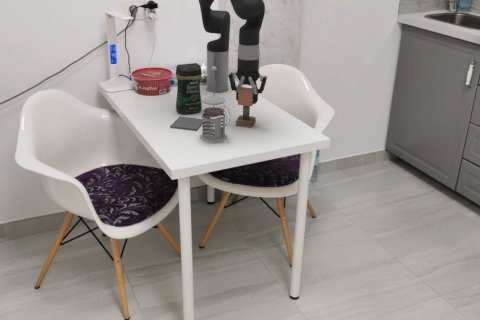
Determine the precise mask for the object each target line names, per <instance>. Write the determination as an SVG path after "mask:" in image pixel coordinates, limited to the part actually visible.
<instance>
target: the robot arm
mask: <svg viewBox="0 0 480 320" xmlns="http://www.w3.org/2000/svg"><path fill="white" fill-rule="evenodd" d="M229 1H230V4H231V7H232V10H233V11H234V13H235V15H236V17H238V18H239V19H241V20H244V21H245V20H246V21H245V23H244V24H243V25H241V27H240V28H239V31H238V34H239V35H238V47H237V68H236V69H237V71H236V72H230V73H229V66H230V65H229V62H230V61H229V59H230V58H229V57H230V56H229V55H230V54H229V53H230V36H231V35H230V33H231V15H230V12H229V11H226V10H217V9H216V10H213V9H212V8H211V7H212V5H213V3H214V2H215V0H198V3H199V6H200V8H199V9H200V14H201V20H202V26H203V29H204V31H205V32H206V33H209V34H218V35H220V37H219V38H217V39H212V40H210V41H208V42H207V45H206V89H207V90H208V91H209V92H212V93H213V87H214V93H222V92H227V91H228V90H229V85H230V89H231V91H235V92H236V93H235V97H236V98H235V99H236V101H237V102H238V91H239V90H240V89H241V88H242V87H244V85H245V86H250V88H252V89H253V92H254V94H253V105H256V104H257V103H258V101H259V94H263V93H264V92H263V91H264V90H265V87H266V84H267V80H268V76H267V75H262V74H260V71H259V70H260V56H261V53H260V52H261V51H260V35H261V34H260V32H261V28H262V25H263V21H264V18H265V13H266V6H265V2H264V0H229ZM212 67H216V68H217V70H216V71H212V70H211V68H212ZM236 78H237V79H238V81H239V82H238V85H237V84H236V80H235V79H236ZM258 80H259V81H260V83H261V84H260V86H259V88H258V83H257V81H258ZM207 90H206V91H207Z"/></svg>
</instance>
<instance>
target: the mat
mask: <svg viewBox="0 0 480 320" xmlns="http://www.w3.org/2000/svg"><path fill="white" fill-rule="evenodd" d="M202 126H203V125H202V118H195V117H188V116H179V117H177V119H175V120H174V121H173V123H171V124H170V126H169V128H170V129H177V130H185V131H196V132H197V131H198V130H199V129H200V128H202Z"/></svg>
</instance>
